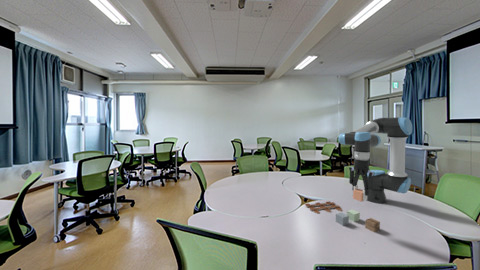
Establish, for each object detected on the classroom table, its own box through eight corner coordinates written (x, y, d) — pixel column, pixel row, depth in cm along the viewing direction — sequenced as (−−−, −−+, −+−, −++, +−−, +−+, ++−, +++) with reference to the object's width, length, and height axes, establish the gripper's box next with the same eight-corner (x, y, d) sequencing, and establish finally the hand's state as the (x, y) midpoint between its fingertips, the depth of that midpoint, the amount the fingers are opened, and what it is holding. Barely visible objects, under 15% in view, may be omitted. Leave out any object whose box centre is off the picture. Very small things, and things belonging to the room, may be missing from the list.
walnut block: (370, 225, 116) (371, 217, 116) (379, 230, 112) (379, 221, 111) (365, 227, 114) (365, 219, 114) (373, 232, 110) (374, 223, 109)
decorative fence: (303, 205, 146) (314, 215, 131) (303, 203, 146) (314, 212, 131) (330, 202, 150) (344, 211, 136) (330, 200, 150) (344, 209, 136)
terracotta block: (358, 197, 116) (359, 188, 116) (367, 200, 112) (367, 191, 111) (353, 198, 114) (353, 190, 114) (361, 201, 110) (361, 192, 109)
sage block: (352, 216, 127) (352, 209, 127) (359, 220, 123) (359, 212, 122) (346, 218, 125) (347, 210, 125) (354, 222, 121) (354, 214, 120)
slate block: (341, 220, 123) (341, 212, 123) (348, 223, 119) (348, 216, 118) (335, 221, 121) (335, 214, 121) (342, 225, 117) (343, 217, 116)
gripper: (343, 156, 118) (341, 194, 120) (373, 162, 101) (371, 206, 103) (351, 155, 121) (350, 192, 123) (382, 161, 104) (380, 203, 106)
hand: (360, 198), depth 113 cm, fingers closed on terracotta block, 5 cm apart
